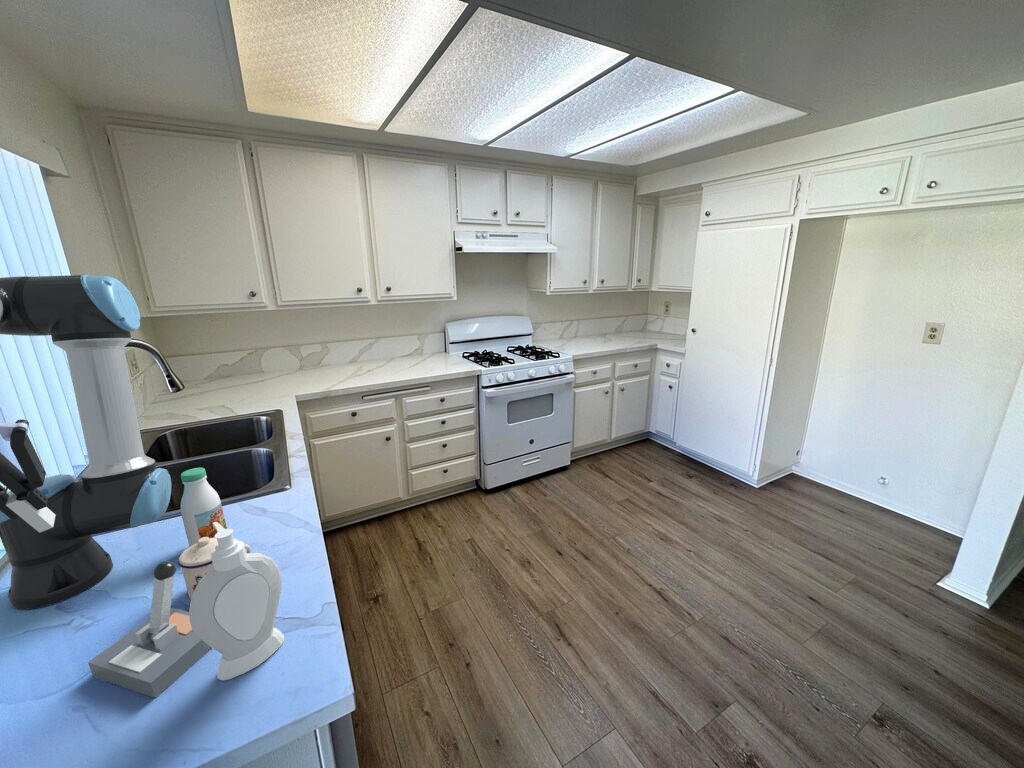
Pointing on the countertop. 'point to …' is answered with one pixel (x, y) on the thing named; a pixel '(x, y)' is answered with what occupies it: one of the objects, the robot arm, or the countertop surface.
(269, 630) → the soap bottle
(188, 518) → the milk bottle
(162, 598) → the lever
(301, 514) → the countertop surface
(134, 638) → the switch base
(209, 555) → the teacup with lid
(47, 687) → the countertop surface
